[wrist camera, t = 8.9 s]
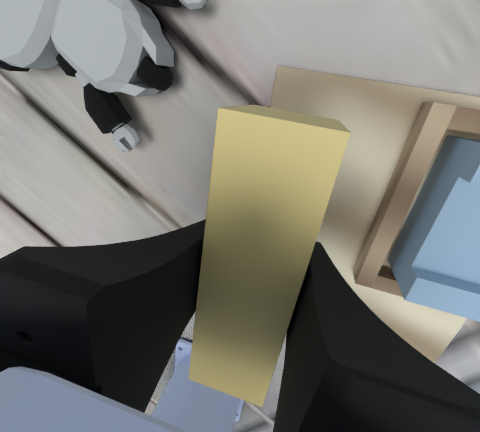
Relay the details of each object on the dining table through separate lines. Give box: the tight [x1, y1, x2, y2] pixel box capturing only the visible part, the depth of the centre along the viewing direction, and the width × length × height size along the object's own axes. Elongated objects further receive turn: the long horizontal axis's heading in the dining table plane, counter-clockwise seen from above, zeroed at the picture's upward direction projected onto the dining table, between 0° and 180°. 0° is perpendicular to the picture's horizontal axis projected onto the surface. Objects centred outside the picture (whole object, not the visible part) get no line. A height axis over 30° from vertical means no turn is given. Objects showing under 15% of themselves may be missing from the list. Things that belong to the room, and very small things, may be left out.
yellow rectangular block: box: [188, 105, 351, 407], centre depth 10 cm, size 10×3×4 cm, turn 171°
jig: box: [270, 66, 480, 363], centre depth 17 cm, size 18×16×2 cm
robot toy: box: [0, 0, 207, 152], centre depth 16 cm, size 12×4×15 cm
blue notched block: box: [387, 135, 480, 322], centre depth 14 cm, size 8×4×4 cm, turn 171°
